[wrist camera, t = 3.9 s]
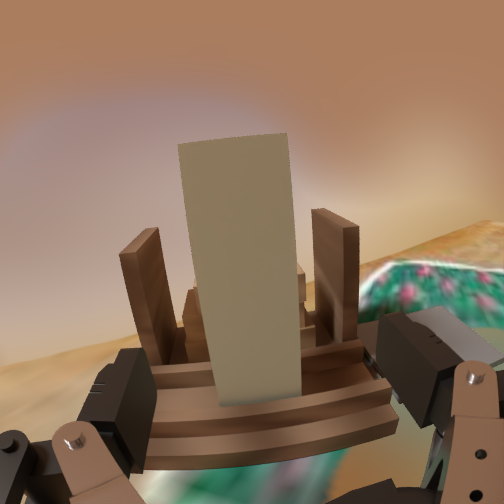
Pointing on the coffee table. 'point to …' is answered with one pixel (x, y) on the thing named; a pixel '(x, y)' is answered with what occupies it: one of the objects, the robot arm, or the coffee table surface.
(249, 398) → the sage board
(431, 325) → the grey mat
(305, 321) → the oak offcut stack
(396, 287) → the coffee table surface
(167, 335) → the walnut rack
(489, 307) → the coffee table surface
